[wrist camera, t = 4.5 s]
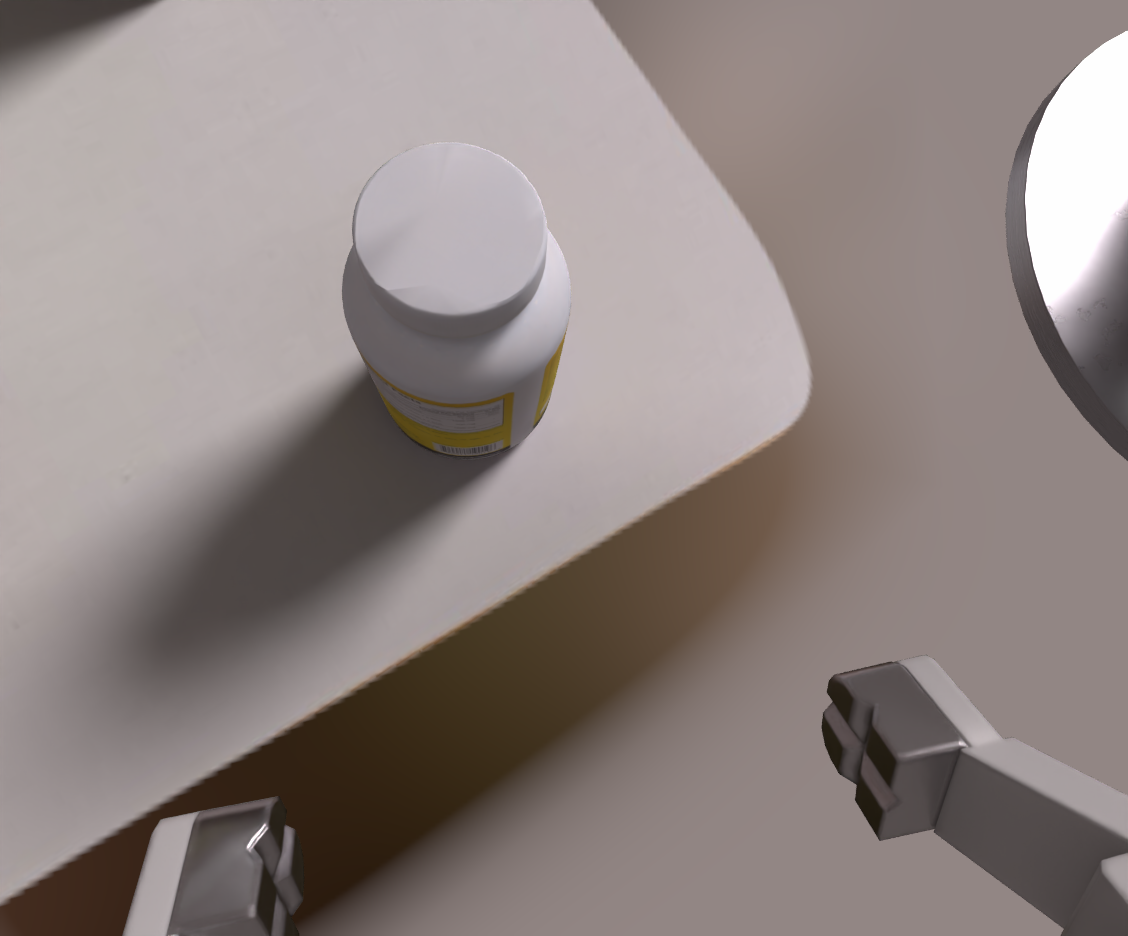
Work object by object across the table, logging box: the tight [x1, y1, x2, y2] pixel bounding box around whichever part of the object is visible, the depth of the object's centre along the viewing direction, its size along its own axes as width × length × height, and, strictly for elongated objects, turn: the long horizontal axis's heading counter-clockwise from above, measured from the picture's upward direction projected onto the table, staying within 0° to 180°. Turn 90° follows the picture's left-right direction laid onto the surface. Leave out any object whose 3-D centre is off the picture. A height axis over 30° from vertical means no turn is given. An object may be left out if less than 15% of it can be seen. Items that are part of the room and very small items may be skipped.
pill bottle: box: [342, 142, 571, 460], centre depth 23 cm, size 6×6×12 cm
